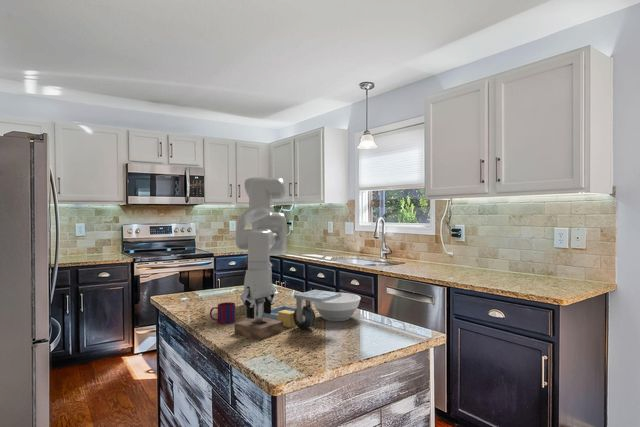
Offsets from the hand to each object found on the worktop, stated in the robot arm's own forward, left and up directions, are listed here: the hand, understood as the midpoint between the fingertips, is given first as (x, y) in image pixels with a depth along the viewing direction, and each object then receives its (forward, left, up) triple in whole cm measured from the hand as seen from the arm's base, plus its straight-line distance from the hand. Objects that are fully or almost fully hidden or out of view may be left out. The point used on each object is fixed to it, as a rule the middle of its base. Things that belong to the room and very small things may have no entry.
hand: (259, 315), depth 143 cm
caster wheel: (-14, +14, -6) cm, 21 cm away
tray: (-21, -8, -6) cm, 23 cm away
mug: (-1, -21, -6) cm, 22 cm away
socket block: (0, 0, -6) cm, 6 cm away
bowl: (-32, +11, -6) cm, 34 cm away
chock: (-13, +2, -6) cm, 15 cm away
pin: (0, 0, -6) cm, 6 cm away
